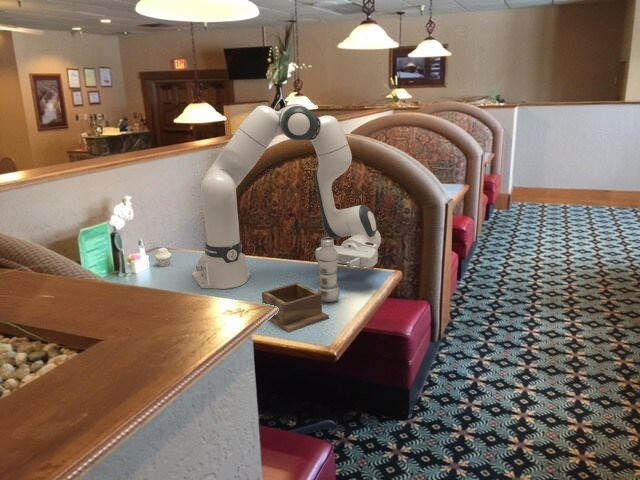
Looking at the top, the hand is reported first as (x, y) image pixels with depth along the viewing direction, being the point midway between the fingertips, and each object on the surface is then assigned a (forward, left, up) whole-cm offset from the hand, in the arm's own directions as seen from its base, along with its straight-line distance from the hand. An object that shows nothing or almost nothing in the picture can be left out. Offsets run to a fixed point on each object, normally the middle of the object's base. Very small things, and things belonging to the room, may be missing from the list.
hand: (335, 262), depth 170 cm
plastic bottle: (+2, -4, -11) cm, 12 cm away
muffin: (-66, -31, -11) cm, 74 cm away
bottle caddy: (+4, -19, -11) cm, 23 cm away
